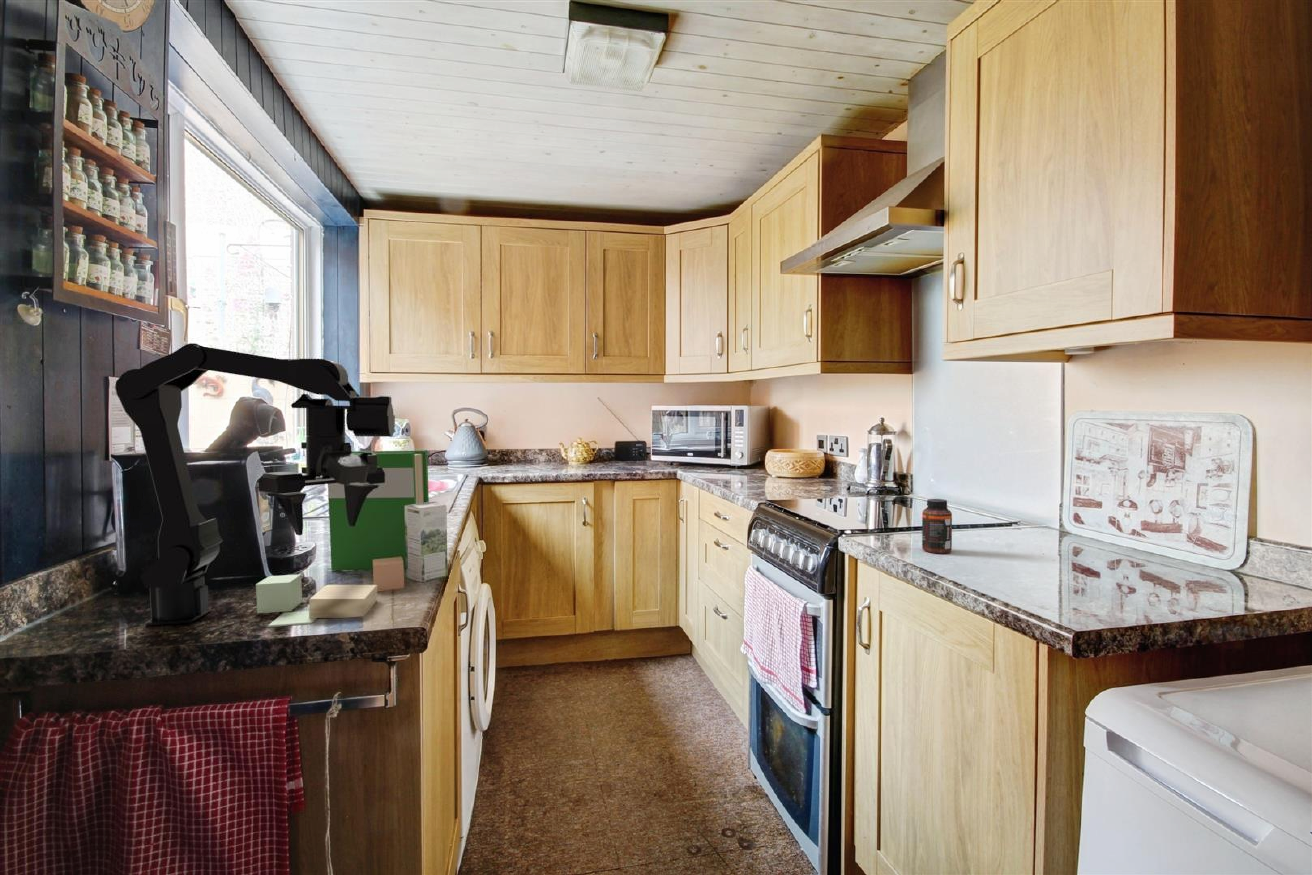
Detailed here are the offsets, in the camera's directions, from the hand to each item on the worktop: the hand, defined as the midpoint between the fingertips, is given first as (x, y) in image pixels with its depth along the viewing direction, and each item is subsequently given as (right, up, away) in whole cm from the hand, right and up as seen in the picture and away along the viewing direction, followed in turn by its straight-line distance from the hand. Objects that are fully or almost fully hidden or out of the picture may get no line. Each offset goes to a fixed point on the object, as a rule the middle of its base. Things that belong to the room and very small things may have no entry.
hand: (326, 530), depth 104 cm
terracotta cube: (+5, -12, +12) cm, 18 cm away
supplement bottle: (+116, -10, +34) cm, 121 cm away
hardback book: (-3, -12, +28) cm, 30 cm away
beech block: (+4, -13, -2) cm, 13 cm away
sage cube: (-8, -13, 0) cm, 15 cm away
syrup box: (+10, -12, +18) cm, 24 cm away
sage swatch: (-2, -13, -6) cm, 14 cm away
